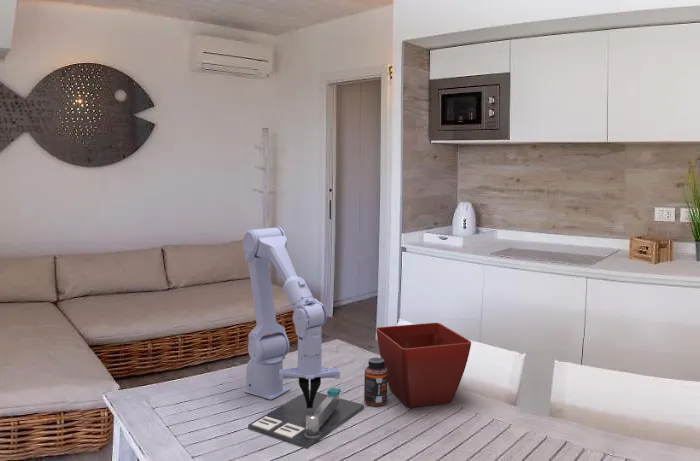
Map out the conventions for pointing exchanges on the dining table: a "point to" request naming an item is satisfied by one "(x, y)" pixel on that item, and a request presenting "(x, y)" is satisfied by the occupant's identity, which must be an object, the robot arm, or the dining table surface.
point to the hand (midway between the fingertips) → (309, 406)
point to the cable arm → (328, 405)
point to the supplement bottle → (375, 382)
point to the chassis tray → (297, 413)
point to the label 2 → (289, 430)
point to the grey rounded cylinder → (312, 426)
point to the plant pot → (423, 362)
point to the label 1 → (267, 423)
